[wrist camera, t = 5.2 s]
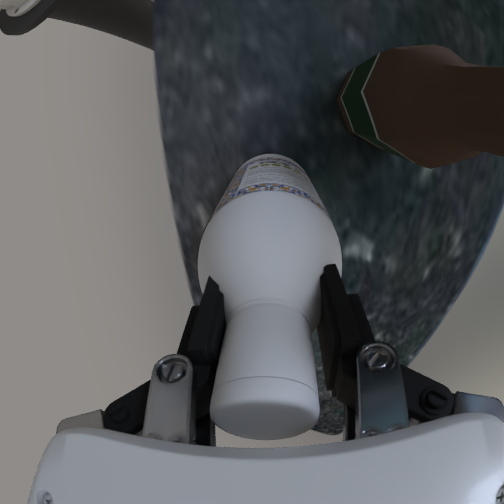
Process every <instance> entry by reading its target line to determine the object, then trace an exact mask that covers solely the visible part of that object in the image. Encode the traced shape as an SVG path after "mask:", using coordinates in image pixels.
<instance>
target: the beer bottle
mask: <svg viewBox="0 0 504 504" xmlns="http://www.w3.org/2000/svg"><path fill="white" fill-rule="evenodd" d="M336 100H337V102H338V105H339V108H340V110H341V113H342V116H343V118H344V121H345V124H346V127H347V130H348V131H349V132H351V133H353V134H355V135H357V136H358V137H360V138H362V139H364V140H365V141H367V142H369V143H370V144H372V145H374V146H375V147H378V148H380V149H383V150H385V151H388V152H390V153H392V154H395V155H397V156H399V157H402V158H404V159H406V160H408V161H410V162H413V163H415V164H417V165H420V166H424V167H427V168H430V169H431V168H436V167H440V166H444V165H448V164H451V163H455V162H459V161H462V160H466V159H470V158H473V157H477V156H478V155H479V154H480V153H481V152H488V153H492V154H496V155H500V156H504V67H493V66H482V65H476V64H470V63H466V62H465V61H464V60H462V59H461V58H460V57H459V56H457V55H456V54H455V53H454V52H452V51H451V50H450V49H448V48H445V47H442V46H438V45H435V44H430V45H417V46H406V47H398V48H392V49H389V50H386V51H383V52H380V53H379V54H377V55H375V56H374V57H372V58H370V59H369V60H367V61H365V62H364V63H362V64H361V65H359V66H357V67H356V68H354V69H353V70H351V71H350V72H349V73H348V75H347V77H346V80H345V82H344V84H343V86H342V88H341V90H340V92H339V94H338V97H337V99H336Z"/></svg>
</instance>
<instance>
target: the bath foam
mask: <svg viewBox="0 0 504 504" xmlns="http://www.w3.org/2000/svg"><path fill="white" fill-rule="evenodd" d="M332 223H333V222H332V220H331V218H330V216H329V215H328V213H327V211H326V209H325V207H324V205H323V203H322V201H321V199H320V197H319V195H318V193H317V191H316V190H315V188H314V186H313V184H312V182H311V180H310V179H309V177H308V176H307V174H306V173H305V171H304V170H303V168H302V167H301V166H300V165H299V164H298V163H296V162H295V161H293V160H292V159H290V158H288V157H285V156H282V155H278V154H263V155H259V156H256V157H254V158H252V159H250V160H248V161H247V162H245V163H244V164H243V165H242V166H241V167H240V168H239V169H238V171H237V172H236V174H235V175H234V177H233V179H232V180H231V182H230V184H229V186H228V187H227V189H226V191H225V193H224V194H223V196H222V198H221V200H220V202H219V203H218V205H217V207H216V209H215V211H214V213H213V214H212V216H211V218H210V220H209V222H208V224H207V226H206V228H205V230H204V232H203V235H202V239H201V243H200V248H199V254H198V277H199V282H200V287H201V290H202V293H204V290H205V286H206V283H207V280H208V277H209V276H210V277H211V278H212V279H213V280H214V281H215V282H216V283H217V284H218V285H219V291H220V292H221V293H223V294H224V311H225V321H226V330H225V334H224V338H223V342H222V347H221V352H220V357H219V362H218V367H217V372H216V377H215V382H214V387H213V393H212V398H211V403H210V417H211V419H212V421H213V422H214V424H215V425H216V426H218V427H219V428H221V429H222V430H224V431H225V432H228V433H230V434H233V435H236V436H240V437H243V438H248V439H255V440H278V439H285V438H290V437H294V436H297V435H300V434H302V433H305V432H306V431H308V430H310V429H311V428H312V427H313V426H314V425H315V424H316V423H317V421H318V418H319V398H318V387H317V378H316V368H315V359H314V351H313V344H312V337H311V333H312V332H313V331H314V330H315V328H316V327H317V326H318V325H319V323H320V319H321V286H320V276H321V275H322V274H323V273H324V266H326V265H328V264H336V266H337V269H338V271H339V274H340V277H341V272H342V256H341V248H340V244H339V240H338V237H337V234H336V231H335V229H334V227H333V224H332Z"/></svg>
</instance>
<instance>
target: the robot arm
mask: <svg viewBox="0 0 504 504" xmlns="http://www.w3.org/2000/svg"><path fill="white" fill-rule="evenodd" d="M40 1H41V0H0V9H6V12H7V14H8V15H9V16H13V17H17V16H21V15H23V14H25V13H27V12H28V11H30V10H31V9H32V8H33V7H34V6H36V5H37V4H38V3H39V2H40ZM320 286H321V319H320V323H319V325H318V326H317V331H318V337H319V343H320V349H321V356H322V362H323V369H324V376H325V383H326V389H327V390H332V397H337V400H338V401H340V402H342V403H343V404H344V419H343V442H336V443H329V444H320V445H311V446H299V447H283V448H230V447H216V439H215V438H216V437H215V424H214V422H213V421H212V419H211V417H210V403H211V398H212V393H213V387H214V382H215V377H216V372H217V367H218V362H219V357H220V352H221V347H222V342H223V338H224V334H225V330H226V321H225V311H224V294H223V293H221V292H220V291H219V285H218V284H217V283H216V282H215V281H214V280H213V279H212V278H211V277H210V276H209V277H208V280H207V283H206V286H205V290H204V293H203V296H202V299H201V303H200V306H193V307H192V308H191V311H190V314H189V317H188V320H187V324H186V326H185V329H184V332H183V336H182V339H181V342H180V345H179V348H178V351H177V354H171V355H167V356H165V357H163V358H162V359H160V360H159V361H158V362H157V363H156V364H155V366H154V368H153V371H152V376H151V380H149V381H148V382H146V383H144V384H143V385H141V386H139V387H138V388H136V389H135V390H132V391H131V392H129V393H127V394H126V395H124V396H123V397H120V398H119V399H117V400H115V401H114V402H112V403H111V404H110V405H109V406H108V407H107V408H106V410H105V411H102V410H101V409H100V410H96V411H93V412H89V413H85V414H81V415H78V416H74V417H70V418H66V419H64V420H62V421H61V422H60V423H59V425H58V427H57V432H56V435H55V436H54V437H53V438H52V439H51V441H50V442H49V444H48V445H47V447H46V449H45V451H44V453H43V455H42V458H41V460H40V462H39V465H38V468H37V471H36V474H35V477H34V480H33V483H32V487H31V491H30V495H29V499H28V504H504V406H503V404H502V402H501V401H500V400H499V399H497V398H494V397H488V396H482V395H475V394H469V393H464V392H458V391H457V392H456V393H455V394H454V393H451V391H450V390H449V389H448V388H447V387H446V386H444V385H443V384H440V383H439V382H436V381H434V380H432V379H430V378H428V377H426V376H424V375H422V374H420V373H418V372H416V371H414V370H412V369H409V368H408V367H405V366H403V365H401V364H400V361H399V356H398V354H397V351H396V350H395V349H394V348H393V347H392V346H390V345H389V344H387V343H384V342H376V341H375V339H374V336H373V333H372V331H371V328H370V325H369V322H368V320H367V317H366V314H365V311H364V309H363V306H362V304H361V301H360V298H359V296H358V294H348V295H347V294H346V291H345V288H344V285H343V282H342V279H341V277H340V274H339V271H338V269H337V266H336V264H328V265H326V266H324V273H323V274H322V275H321V276H320Z"/></svg>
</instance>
